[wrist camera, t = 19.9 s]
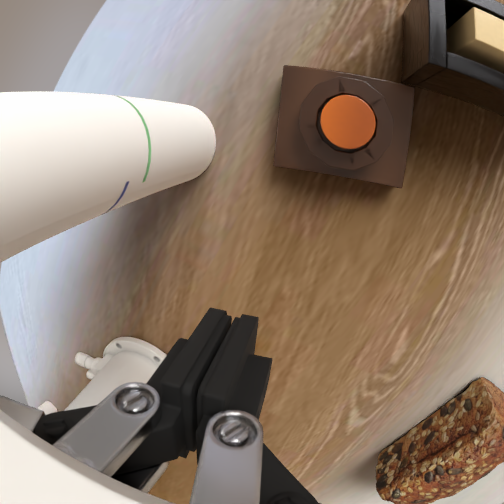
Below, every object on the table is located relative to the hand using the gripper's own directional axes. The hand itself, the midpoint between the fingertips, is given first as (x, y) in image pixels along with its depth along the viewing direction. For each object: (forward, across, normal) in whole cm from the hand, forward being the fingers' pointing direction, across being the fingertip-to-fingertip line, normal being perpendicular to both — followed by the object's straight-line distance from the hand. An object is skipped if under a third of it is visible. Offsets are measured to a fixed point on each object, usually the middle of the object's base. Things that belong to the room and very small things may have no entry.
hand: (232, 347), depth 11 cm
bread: (+18, -25, +23) cm, 39 cm away
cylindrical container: (+18, +10, -6) cm, 22 cm away
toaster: (+17, -15, -17) cm, 28 cm away
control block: (+17, -4, -9) cm, 20 cm away
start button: (+14, -4, -9) cm, 17 cm away
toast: (+16, -15, -17) cm, 28 cm away
